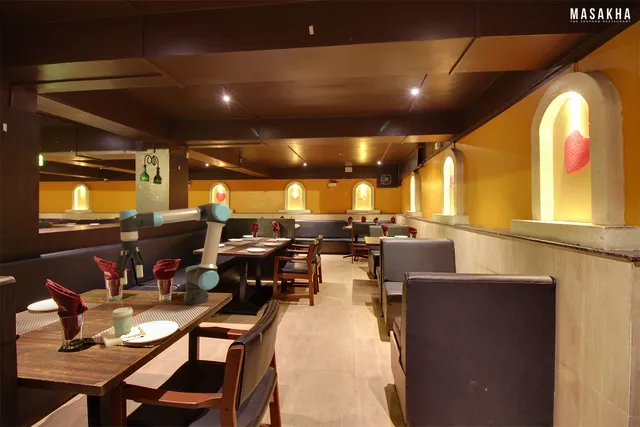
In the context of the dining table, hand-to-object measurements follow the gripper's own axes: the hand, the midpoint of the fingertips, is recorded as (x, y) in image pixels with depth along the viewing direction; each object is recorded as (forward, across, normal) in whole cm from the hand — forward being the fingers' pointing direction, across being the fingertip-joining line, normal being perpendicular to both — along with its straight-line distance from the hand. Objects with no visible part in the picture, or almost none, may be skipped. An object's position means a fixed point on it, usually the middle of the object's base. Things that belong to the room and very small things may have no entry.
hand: (132, 280), depth 149 cm
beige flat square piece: (+23, +14, +3) cm, 27 cm away
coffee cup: (+22, +14, +3) cm, 27 cm away
